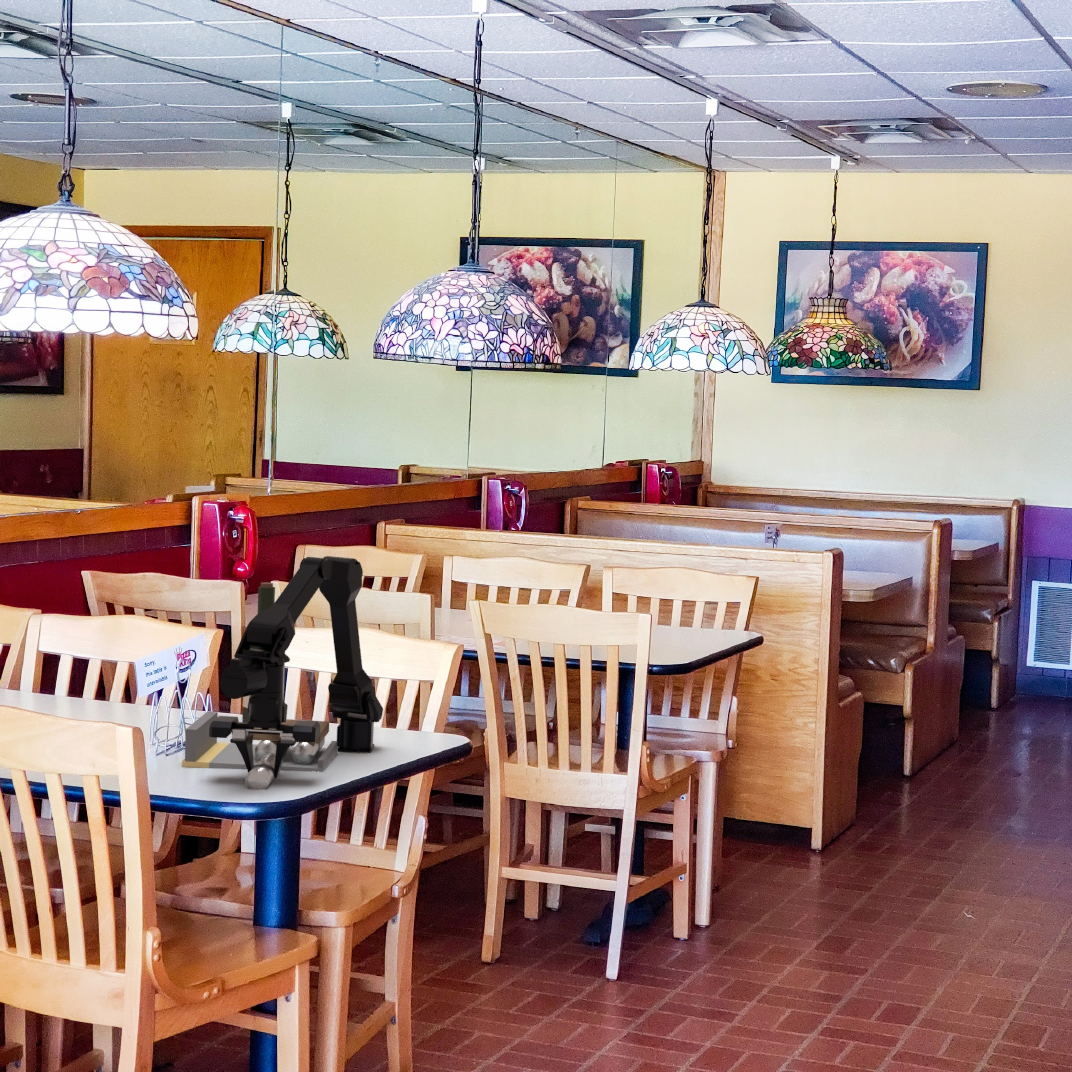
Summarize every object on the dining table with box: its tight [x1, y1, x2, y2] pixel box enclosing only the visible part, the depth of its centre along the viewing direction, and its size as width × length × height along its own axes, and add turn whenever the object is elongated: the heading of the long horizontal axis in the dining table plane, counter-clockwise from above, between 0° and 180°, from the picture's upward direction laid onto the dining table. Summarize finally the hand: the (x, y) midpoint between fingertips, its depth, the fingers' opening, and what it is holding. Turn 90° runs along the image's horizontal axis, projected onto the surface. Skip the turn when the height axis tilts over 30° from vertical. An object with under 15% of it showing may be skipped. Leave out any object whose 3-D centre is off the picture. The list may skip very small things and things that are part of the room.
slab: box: [250, 718, 330, 743], centre depth 277 cm, size 13×10×2 cm
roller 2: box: [244, 754, 282, 790], centre depth 261 cm, size 12×4×4 cm, turn 179°
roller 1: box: [255, 740, 278, 761], centre depth 278 cm, size 12×4×4 cm, turn 178°
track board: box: [181, 711, 338, 773], centre depth 278 cm, size 26×16×7 cm, turn 88°
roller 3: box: [292, 737, 326, 765], centre depth 278 cm, size 12×4×4 cm, turn 178°
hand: (263, 776), depth 261 cm, fingers closed on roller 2, 4 cm apart
